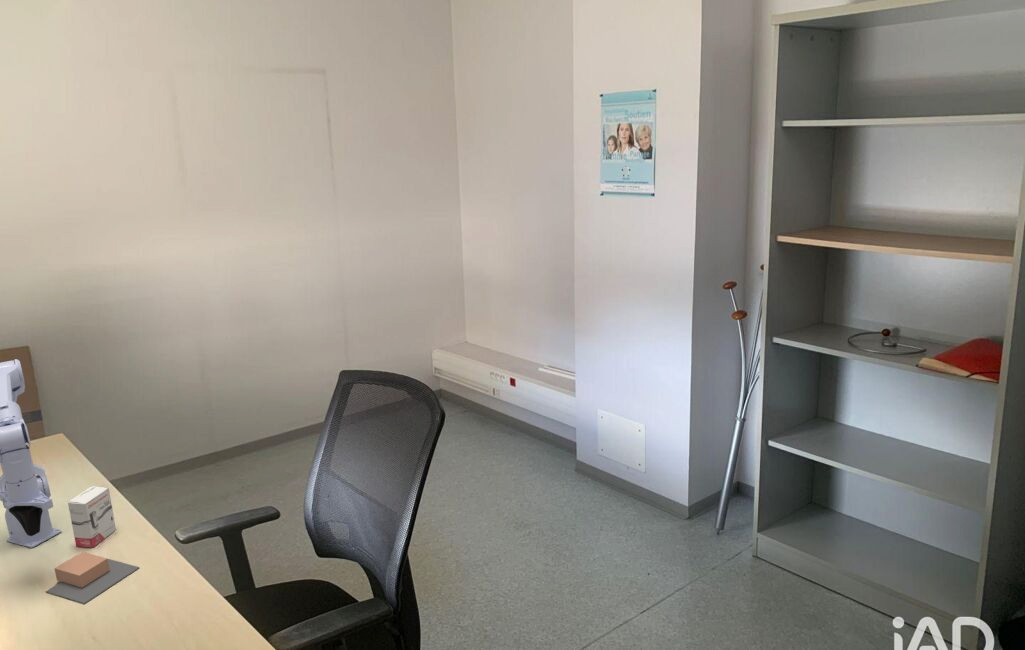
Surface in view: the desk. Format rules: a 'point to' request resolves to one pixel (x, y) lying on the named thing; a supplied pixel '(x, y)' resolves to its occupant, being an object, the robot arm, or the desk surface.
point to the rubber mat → (94, 583)
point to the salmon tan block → (82, 569)
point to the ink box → (92, 516)
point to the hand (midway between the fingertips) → (33, 533)
